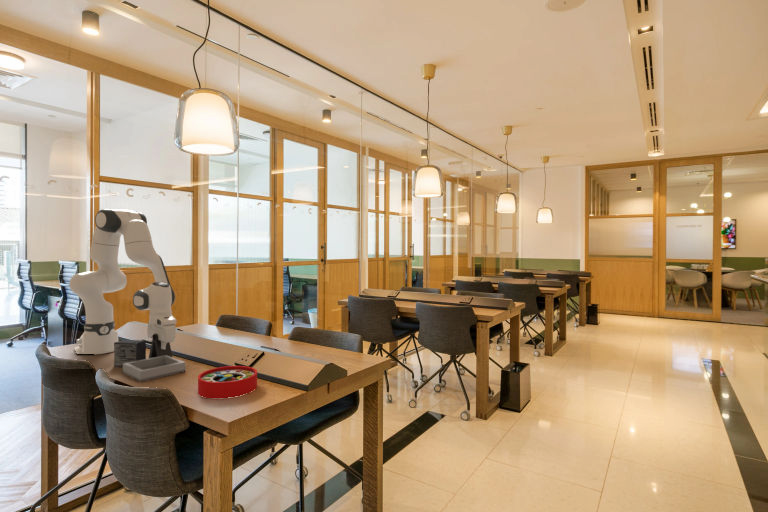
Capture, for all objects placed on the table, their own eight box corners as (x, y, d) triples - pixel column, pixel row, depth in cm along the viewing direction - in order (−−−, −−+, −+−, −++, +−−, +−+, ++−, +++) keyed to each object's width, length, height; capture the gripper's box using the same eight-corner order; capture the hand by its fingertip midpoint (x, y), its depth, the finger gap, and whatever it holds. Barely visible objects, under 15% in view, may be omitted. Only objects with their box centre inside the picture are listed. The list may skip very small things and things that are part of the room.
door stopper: (148, 359, 187) (148, 333, 187) (161, 356, 193) (161, 330, 192) (159, 362, 183) (160, 335, 182) (172, 359, 188) (173, 333, 188)
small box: (147, 363, 182) (147, 339, 182) (136, 368, 175) (136, 343, 175) (124, 362, 183) (124, 339, 183) (113, 367, 176) (113, 342, 176)
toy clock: (266, 367, 159) (240, 384, 139) (266, 382, 159) (240, 401, 139) (217, 364, 162) (185, 380, 142) (217, 379, 162) (185, 397, 142)
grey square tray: (122, 373, 168) (122, 363, 168) (166, 364, 181) (166, 355, 181) (140, 382, 157) (140, 371, 157) (185, 371, 171) (185, 362, 170)
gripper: (143, 316, 191) (143, 346, 192) (163, 322, 178) (163, 354, 179) (157, 315, 196) (157, 344, 196) (178, 320, 183) (178, 351, 184)
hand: (160, 349), depth 188 cm, fingers closed on door stopper, 3 cm apart
